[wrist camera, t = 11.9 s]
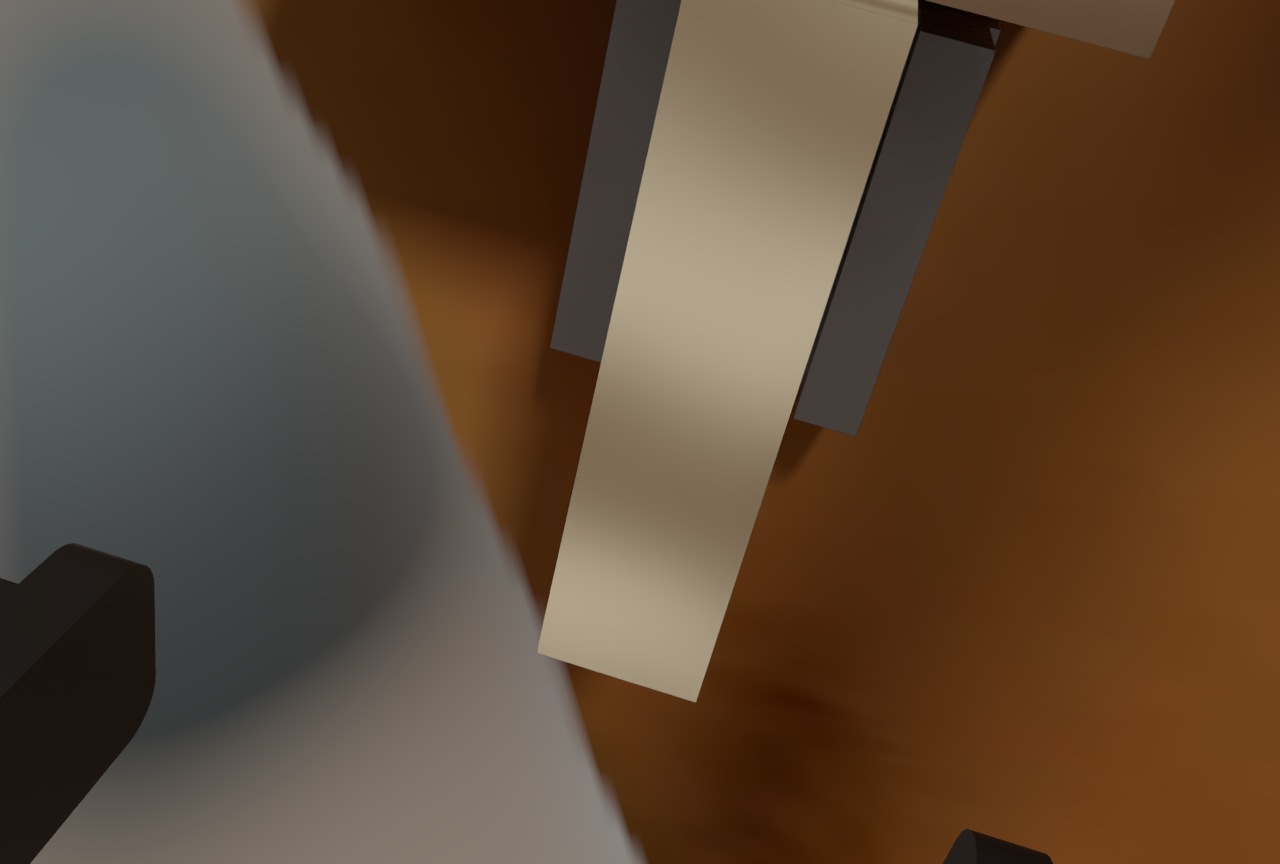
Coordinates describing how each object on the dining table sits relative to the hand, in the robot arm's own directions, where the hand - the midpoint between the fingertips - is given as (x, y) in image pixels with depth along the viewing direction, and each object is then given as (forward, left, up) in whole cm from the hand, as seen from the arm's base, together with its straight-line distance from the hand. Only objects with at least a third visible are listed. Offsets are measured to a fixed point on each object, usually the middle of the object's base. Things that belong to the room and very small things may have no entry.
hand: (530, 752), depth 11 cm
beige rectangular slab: (0, 0, -19) cm, 19 cm away
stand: (0, 0, -20) cm, 20 cm away
